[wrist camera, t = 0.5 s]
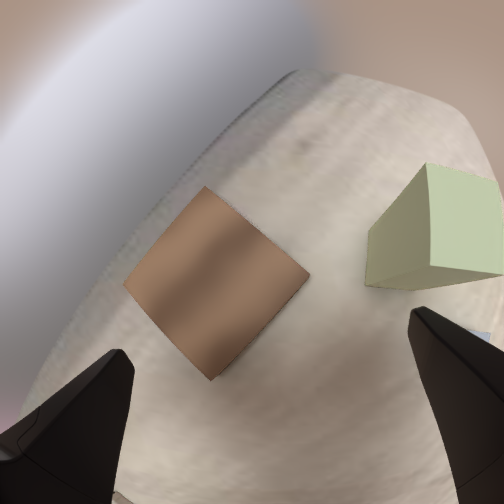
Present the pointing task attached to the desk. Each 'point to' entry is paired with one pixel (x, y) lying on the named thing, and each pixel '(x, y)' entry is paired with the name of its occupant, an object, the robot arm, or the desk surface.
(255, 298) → the walnut board
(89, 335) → the desk surface
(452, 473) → the robot arm
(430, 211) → the green block
